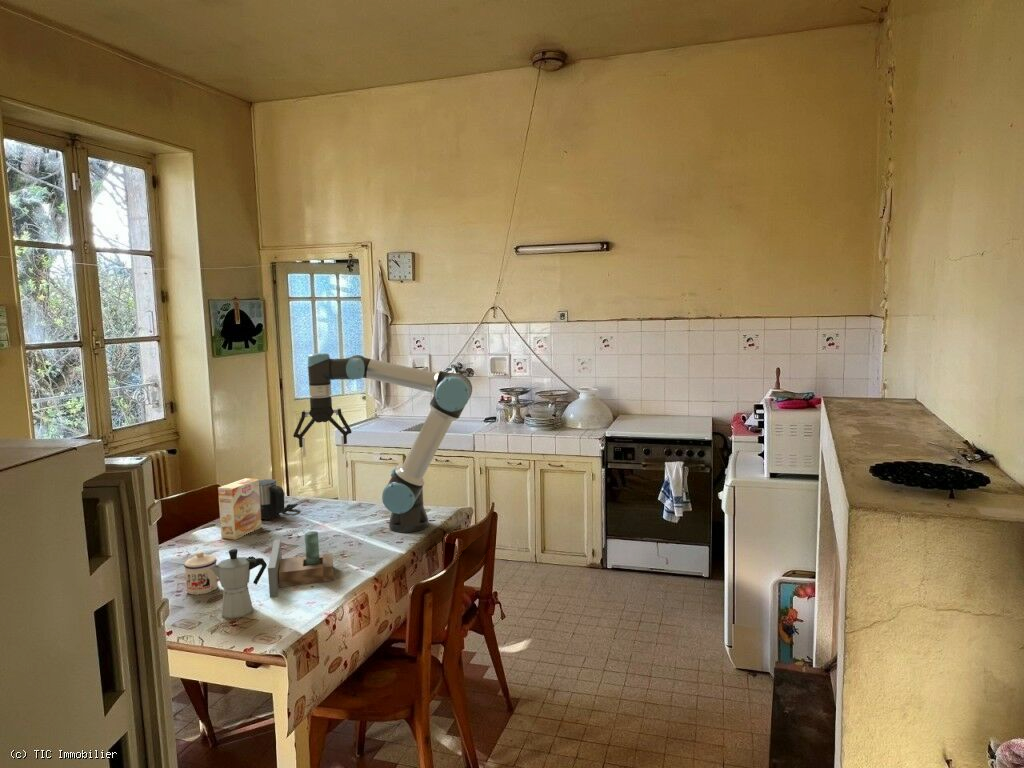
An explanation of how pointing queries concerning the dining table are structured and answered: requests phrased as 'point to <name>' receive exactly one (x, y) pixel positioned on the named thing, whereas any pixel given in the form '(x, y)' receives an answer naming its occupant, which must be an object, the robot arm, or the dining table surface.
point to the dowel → (312, 548)
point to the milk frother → (272, 499)
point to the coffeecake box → (239, 508)
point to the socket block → (305, 570)
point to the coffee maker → (237, 583)
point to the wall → (274, 568)
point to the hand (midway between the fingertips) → (323, 454)
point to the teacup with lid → (200, 574)
